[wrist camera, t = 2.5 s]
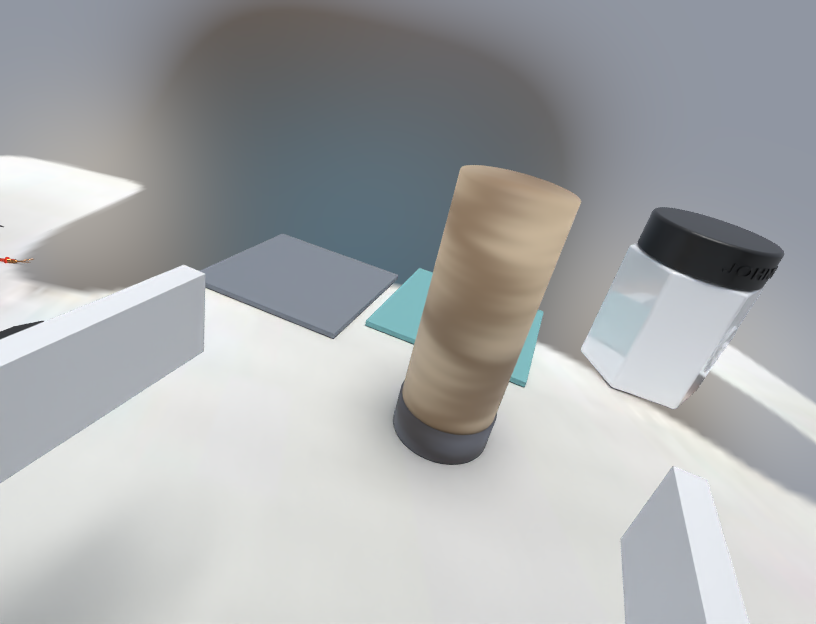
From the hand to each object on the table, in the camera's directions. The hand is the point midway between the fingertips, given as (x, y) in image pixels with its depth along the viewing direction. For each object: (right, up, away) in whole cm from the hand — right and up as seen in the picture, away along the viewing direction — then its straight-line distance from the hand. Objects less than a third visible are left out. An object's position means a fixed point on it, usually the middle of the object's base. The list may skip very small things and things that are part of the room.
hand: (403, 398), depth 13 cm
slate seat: (-8, +5, +26) cm, 27 cm away
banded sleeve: (+2, -4, +14) cm, 15 cm away
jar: (+18, -2, +24) cm, 30 cm away
